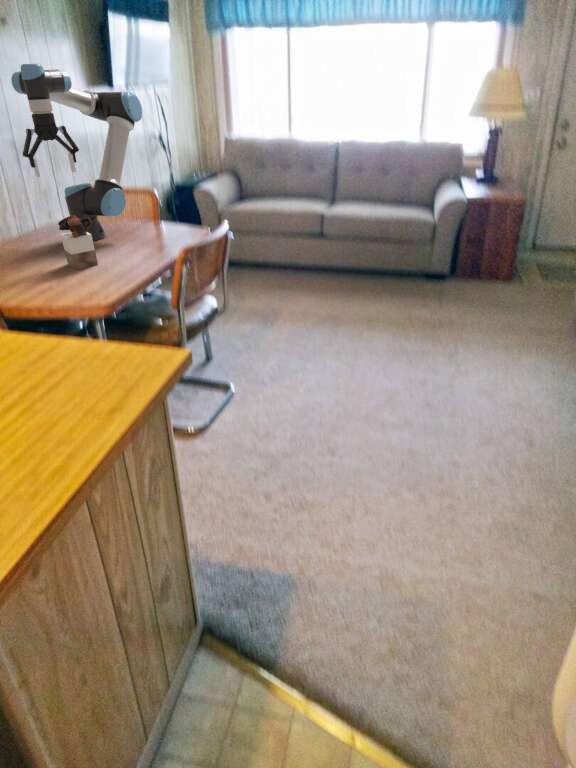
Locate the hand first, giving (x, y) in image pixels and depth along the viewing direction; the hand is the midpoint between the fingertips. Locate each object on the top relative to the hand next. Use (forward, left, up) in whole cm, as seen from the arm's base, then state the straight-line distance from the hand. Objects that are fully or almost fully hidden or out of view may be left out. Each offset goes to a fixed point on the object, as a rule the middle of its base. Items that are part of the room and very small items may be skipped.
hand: (56, 174), depth 209 cm
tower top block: (+2, +15, -26) cm, 30 cm away
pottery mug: (+2, +16, -20) cm, 26 cm away
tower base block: (+2, +15, -32) cm, 35 cm away
